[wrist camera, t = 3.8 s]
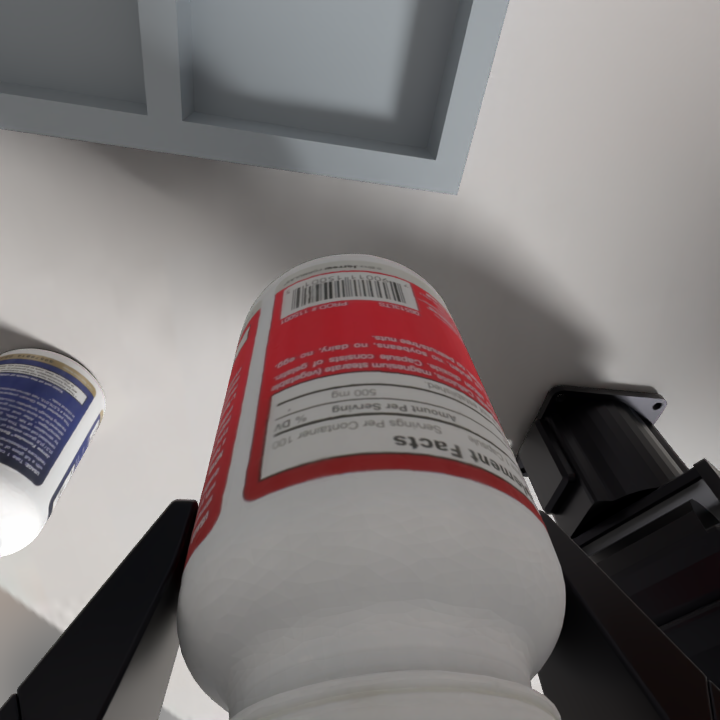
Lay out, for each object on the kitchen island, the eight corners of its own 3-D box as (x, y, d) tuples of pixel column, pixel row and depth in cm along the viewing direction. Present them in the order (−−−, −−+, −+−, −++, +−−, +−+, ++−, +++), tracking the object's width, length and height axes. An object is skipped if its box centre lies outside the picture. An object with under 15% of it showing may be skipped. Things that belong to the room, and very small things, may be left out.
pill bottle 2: (335, 448, 17) (353, 950, 8) (196, 336, 14) (-38, 945, 5) (490, 351, 15) (753, 877, 6) (367, 195, 12) (519, 789, 3)
